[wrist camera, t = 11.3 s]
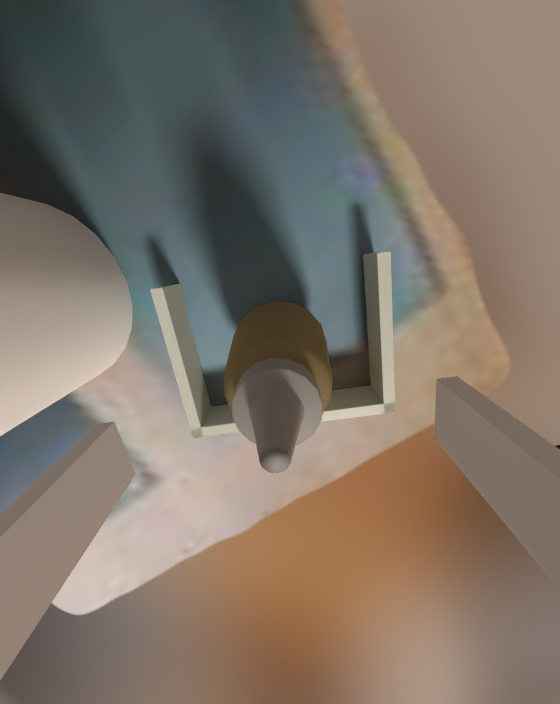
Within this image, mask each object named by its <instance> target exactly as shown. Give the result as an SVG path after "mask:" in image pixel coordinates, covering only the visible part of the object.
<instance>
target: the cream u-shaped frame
mask: <svg viewBox="0 0 560 704" xmlns="http://www.w3.org/2000/svg"><path fill="white" fill-rule="evenodd" d="M363 264H364V281H365V299H366V316H367V333H368V350H369V367H370V385H368V386H361V387H353V388H346V389H338V390H332V392H331V400H330V402H329V404H328V406H327V407H326V409H325V411H324V412H323V414H322V419H321V422H322V421H329V420H337V419H345V418H353V417H361V416H369V415H376V414H384V413H392V412H395V389H394V355H393V321H392V287H391V253H390V251H387V252H376V253H369V254H363ZM150 290H151V294H152V297H153V301H154V304H155V308H156V311H157V315H158V318H159V322H160V325H161V328H162V332H163V335H164V339H165V342H166V346H167V349H168V353H169V356H170V360H171V363H172V366H173V370H174V373H175V377H176V380H177V384H178V387H179V391H180V394H181V397H182V401H183V404H184V408H185V411H186V415H187V418H188V422H189V425H190V429H191V432H192V435H193V438H196V437H204V436H212V435H220V434H228V433H235V432H240V431H239V430H238V428H237V426H236V424H235V422H234V419H233V417H232V411H231V409H230V407H229V405H228V404H226V405H219V406H211V403H210V400H209V396H208V392H207V388H206V384H205V380H204V376H203V372H202V368H201V364H200V361H199V357H198V353H197V349H196V345H195V341H194V337H193V333H192V329H191V325H190V322H189V318H188V314H187V310H186V306H185V302H184V298H183V294H182V290H181V286H180V284H174V285H168V286H164V287H159V288H155V289H150Z"/></svg>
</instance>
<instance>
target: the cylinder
mask: <svg viewBox="0 0 560 704" xmlns="http://www.w3.org/2000/svg"><path fill="white" fill-rule="evenodd" d="M131 329H132V301H131V297H130V293H129V289H128V285H127V281H126V279H125V277H124V275H123V273H122V271H121V269H120V267H119V265H118V263H117V261H116V259H115V257H114V256H113V254H112V253H111V252H110V251H109V250H108V248H107V247H106V246H105V245H104V243H103V242H102V241H101V240H100V239H99V237H98V236H97V235H96V234H95V233H94V232H92V231H91V230H90V229H89V228H87V227H86V226H85V225H83V224H82V223H81V222H80V221H78V220H77V219H76V218H74V217H73V216H71V215H69V214H67V213H65V212H63V211H61V210H59V209H56V208H54V207H52V206H50V205H48V204H45V203H41V202H37V201H32V200H28V199H24V198H20V197H16V196H12V195H8V194H3V193H0V436H1V435H3V434H4V433H6V432H8V431H9V430H11V429H12V428H14V427H16V426H17V425H19V424H20V423H22V422H24V421H25V420H27V419H28V418H30V417H32V416H33V415H35V414H37V413H38V412H40V411H41V410H43V409H45V408H46V407H48V406H49V405H51V404H53V403H54V402H56V401H57V400H59V399H61V398H62V397H64V396H66V395H67V394H69V393H70V392H72V391H74V390H75V389H77V388H78V387H80V386H82V385H83V384H85V383H87V382H88V381H90V380H91V379H93V378H95V377H96V376H98V375H99V374H101V373H102V372H103V371H105V370H106V369H107V368H109V367H110V366H111V365H113V364H114V363H115V362H116V360H117V359H118V357H119V356H120V355H121V353H122V352H123V350H124V349H125V347H126V345H127V342H128V338H129V335H130V332H131Z"/></svg>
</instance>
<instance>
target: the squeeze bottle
mask: <svg viewBox="0 0 560 704" xmlns="http://www.w3.org/2000/svg"><path fill="white" fill-rule="evenodd" d="M332 384H333V379H332V373H331V367H330V361H329V355H328V349H327V343H326V339H325V336H324V333H323V330H322V327H321V324H320V323H319V322H318V321H317V320H316V318H315V317H314V316H313V315H312V314H311V313H310V312H309V310H307V309H304V308H302V307H300V306H298V305H296V304H294V303H292V302H277V301H271V302H269V303H266V304H263V305H260V306H258V307H255V308H253V309H252V310H251V311H250V312H249V313H248V314H247V315H246V316H245V317H244V318H243V319H242V320H241V321H240V323H239V325H238V328H237V330H236V332H235V334H234V337H233V341H232V345H231V349H230V353H229V357H228V361H227V365H226V369H225V373H224V396H225V398H226V400H227V403H228V405H229V407H230V409H231V411H232V417H233V419H234V422H235V424H236V426H237V428H238V430H239V431H240V432H241V433H242V434H243V435H244V436H245V437H246V438H247V439H249V440H250V441H251V442H253V443H256V446H257V450H258V455H259V460H260V464H261V466H262V467H263V468H264V469H265V470H266V471H268V472H271V473H279V472H283V471H284V470H286V469H287V468H288V466H289V465H290V462H291V459H292V455H293V452H294V448H295V445H298V444H300V443H302V442H303V441H304V440H306V439H307V438H308V437H310V436H311V435H312V434H313V433H314V432H315V430H316V428H317V427H318V425H319V423H320V422H321V419H322V414H323V412H324V411H325V409H326V407H327V406H328V404H329V402H330V400H331V392H332Z"/></svg>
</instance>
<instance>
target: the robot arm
mask: <svg viewBox="0 0 560 704" xmlns="http://www.w3.org/2000/svg"><path fill="white" fill-rule="evenodd" d="M435 439H436V440H437V441H438V443H439V444H440V445H441V446H442V448H443V449H444V450H445V451H446V452H447V454H448V455H449V456H450V457H451V458H452V460H453V461H454V462H455V463H456V465H457V466H458V467H459V468H460V470H461V471H462V472H463V473H464V474H465V476H466V477H467V478H468V479H469V480H470V482H471V483H472V484H473V485H474V487H475V488H476V489H477V490H478V491H479V493H480V494H481V495H482V496H483V498H484V499H485V500H486V501H487V502H488V503H489V505H490V506H491V507H492V508H493V510H494V511H495V512H496V513H497V514H498V516H499V517H500V518H501V519H502V520H503V522H504V523H505V524H506V526H507V527H508V528H509V529H510V530H511V532H512V533H513V534H514V535H515V536H516V538H517V539H518V540H519V541H520V543H521V544H522V545H523V546H524V547H525V549H526V550H527V551H528V552H529V554H530V555H531V556H532V557H533V558H534V560H535V561H536V562H537V563H538V565H539V566H540V567H541V568H542V569H543V570H544V572H545V573H546V574H547V576H548V577H549V578H550V579H551V580H552V582H553V583H554V584H555V585H556V586H557V587H558V589H559V590H560V445H557V446H554V445H552V444H551V443H550V442H548V441H547V440H546V439H544V438H543V437H541V436H540V435H539V434H537V433H536V432H534V431H533V430H532V429H530V428H529V427H527V426H526V425H524V424H523V423H522V422H520V421H519V420H518V419H516V418H515V417H513V416H512V415H511V414H509V413H508V412H506V411H505V410H503V409H502V408H500V407H499V406H498V405H496V404H495V403H494V402H492V401H491V400H489V399H488V398H487V397H485V396H484V395H482V394H481V393H480V392H478V391H477V390H475V389H474V388H473V387H471V386H470V385H468V384H467V383H466V382H464V381H463V380H461V379H460V378H459V377H457V376H456V377H448V378H441V379H437V385H436V411H435ZM135 474H136V473H135V471H134V469H133V466H132V464H131V461H130V459H129V456H128V454H127V451H126V449H125V447H124V444H123V442H122V439H121V437H120V434H119V432H118V430H117V427H116V425H115V422H109V423H101V424H96V425H95V426H94V427H93V428H92V429H91V430H90V431H89V432H88V433H87V434H86V435H84V436H83V437H82V438H81V439H80V440H79V441H78V442H77V443H76V444H75V445H74V446H73V447H72V448H71V449H69V450H68V451H67V452H66V453H65V454H64V455H63V456H62V457H61V458H60V459H59V460H58V461H57V462H56V463H54V464H53V465H52V466H51V467H50V468H49V469H48V470H47V471H46V472H45V473H44V474H43V475H42V476H41V477H39V478H38V479H37V480H36V481H35V482H34V483H33V484H32V485H31V486H30V487H29V488H28V489H27V490H26V491H24V492H23V493H22V494H21V495H20V496H19V497H18V498H17V499H16V500H15V501H14V502H13V503H12V504H11V505H9V506H8V507H7V508H6V509H5V510H4V511H3V512H2V513H1V514H0V680H1V678H2V677H3V675H4V674H5V672H6V671H7V669H8V668H9V666H10V665H11V663H12V662H13V660H14V659H15V657H16V655H17V654H18V653H19V651H20V649H21V648H22V646H23V645H24V643H25V642H26V640H27V639H28V637H29V636H30V634H31V633H32V631H33V630H34V628H35V627H36V625H37V624H38V622H39V620H40V619H41V618H42V616H43V614H44V613H45V611H46V610H47V608H48V607H49V605H50V604H51V602H52V601H53V599H54V598H55V596H56V595H57V593H58V592H59V590H60V589H61V587H62V586H63V584H64V582H65V581H66V579H67V578H68V576H69V575H70V573H71V572H72V570H73V569H74V567H75V566H76V564H77V563H78V561H79V560H80V558H81V557H82V555H83V554H84V552H85V550H86V549H87V547H88V546H89V544H90V543H91V541H92V540H93V538H94V537H95V535H96V534H97V532H98V531H99V529H100V528H101V526H102V525H103V523H104V522H105V520H106V518H107V517H108V515H109V514H110V512H111V511H112V509H113V508H114V506H115V505H116V503H117V502H118V500H119V499H120V497H121V496H122V494H123V493H124V491H125V490H126V488H127V486H128V485H129V483H130V482H131V480H132V479H133V477H134V476H135Z"/></svg>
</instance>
